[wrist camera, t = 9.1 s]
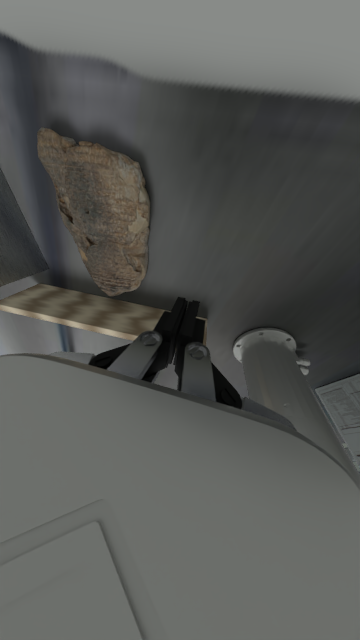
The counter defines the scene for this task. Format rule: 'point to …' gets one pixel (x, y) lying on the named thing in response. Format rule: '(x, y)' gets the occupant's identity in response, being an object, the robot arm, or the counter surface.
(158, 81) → the counter surface
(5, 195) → the bookend
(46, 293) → the shelf wall
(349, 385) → the supplement box
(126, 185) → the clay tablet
